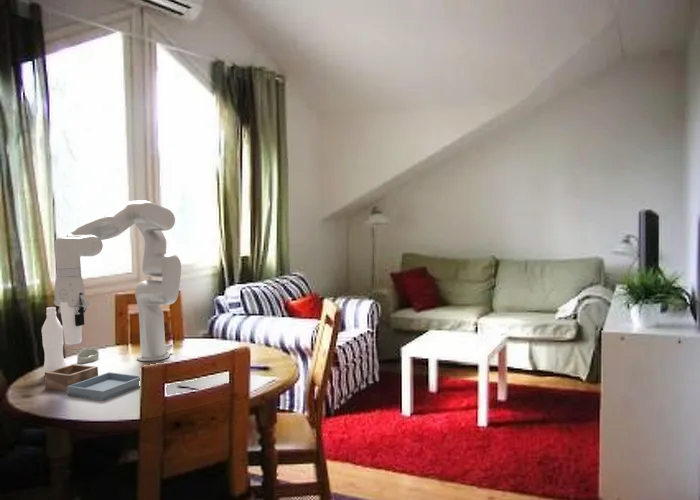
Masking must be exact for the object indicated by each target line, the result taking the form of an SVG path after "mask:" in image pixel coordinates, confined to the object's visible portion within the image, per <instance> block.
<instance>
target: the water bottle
mask: <svg viewBox="0 0 700 500" xmlns="http://www.w3.org/2000/svg"><path fill="white" fill-rule="evenodd" d="M45 315H46V318H45V321H44V323H43V325H42V326H41V336H42V337H41V339H42V347H43V352H44V363H43V370H44V373H45V372H48V371H51V370H55V369H58V368H61V367H65V366H66V362H65V358H64V344H65V341H64V331H63V325H61V324H60V319H59V318H58V317H57V310H56V306H50V307H49V306H48V307H46V313H45Z"/></svg>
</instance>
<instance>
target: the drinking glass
mask: <svg viewBox="0 0 700 500" xmlns="http://www.w3.org/2000/svg"><path fill="white" fill-rule="evenodd" d="M78 305H80V303H78ZM78 309H80V307H78ZM60 310H61V318H62V324H63V325H62V327H63V338H64V344H65V345H66V346H74V345H75V346H76V345H80V344H81V343H82V342H83V338H82V336H83V335H82V332H83V331H82V330H83V325H81V326H76V324H75V315H76V312H75V309H74V307H69V306H68V302H60Z"/></svg>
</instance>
